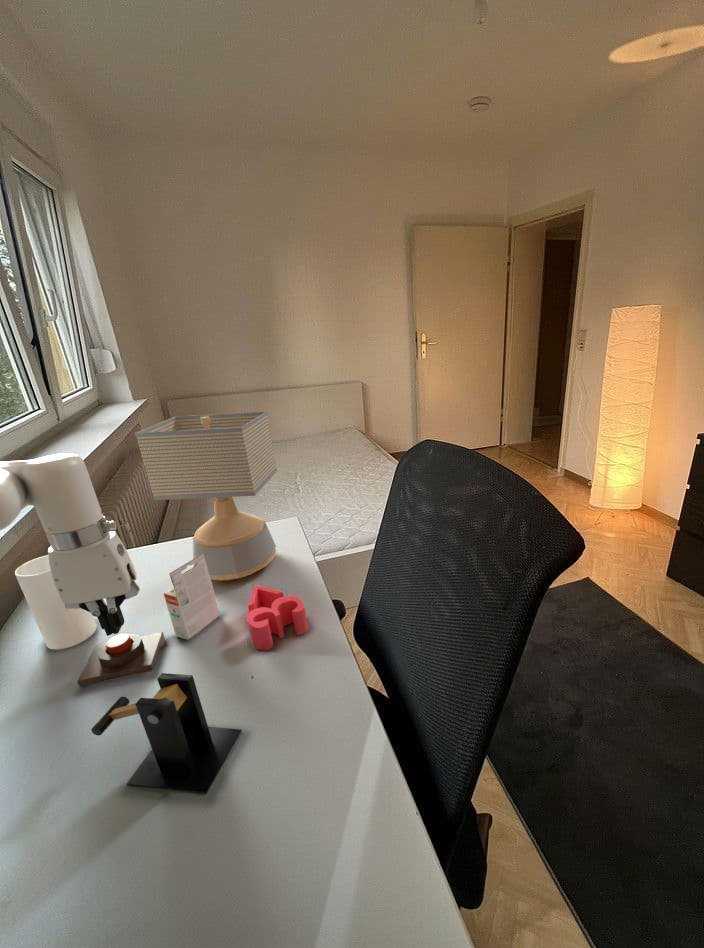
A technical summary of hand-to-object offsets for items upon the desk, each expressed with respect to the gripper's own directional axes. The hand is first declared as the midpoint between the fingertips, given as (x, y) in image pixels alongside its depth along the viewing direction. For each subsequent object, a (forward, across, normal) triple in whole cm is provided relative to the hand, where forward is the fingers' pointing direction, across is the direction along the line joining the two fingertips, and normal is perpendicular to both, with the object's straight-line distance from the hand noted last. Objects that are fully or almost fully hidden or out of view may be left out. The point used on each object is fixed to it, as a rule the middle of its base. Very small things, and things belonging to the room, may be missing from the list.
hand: (115, 629), depth 75 cm
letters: (+8, -25, -3) cm, 26 cm away
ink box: (+8, -11, -7) cm, 15 cm away
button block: (+8, 0, 0) cm, 8 cm away
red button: (+4, 0, 0) cm, 4 cm away
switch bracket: (+8, -14, +24) cm, 29 cm away
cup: (+8, +13, -13) cm, 20 cm away
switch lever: (-1, -10, +22) cm, 25 cm away
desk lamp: (+8, -17, -29) cm, 34 cm away
